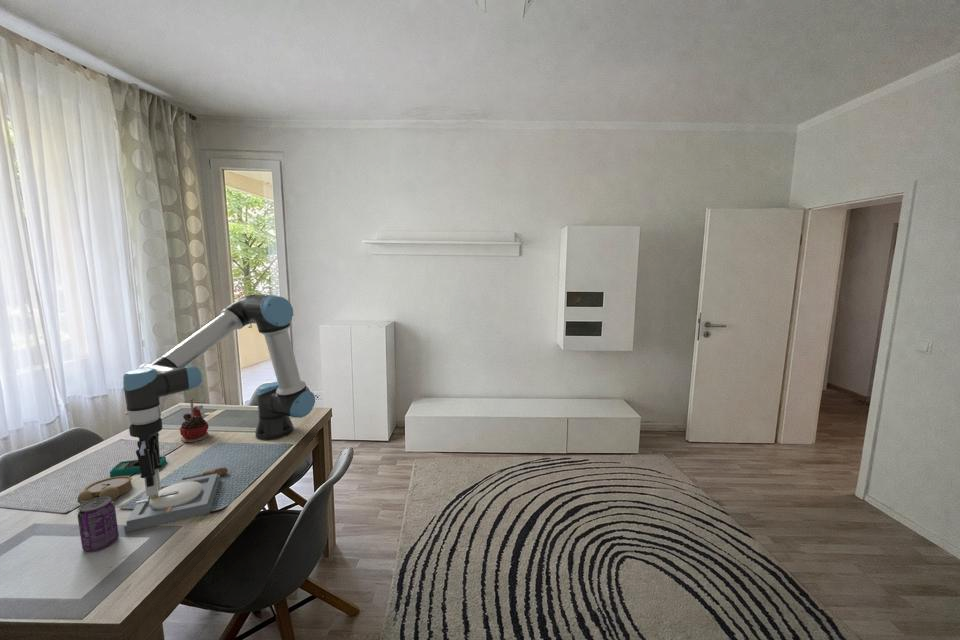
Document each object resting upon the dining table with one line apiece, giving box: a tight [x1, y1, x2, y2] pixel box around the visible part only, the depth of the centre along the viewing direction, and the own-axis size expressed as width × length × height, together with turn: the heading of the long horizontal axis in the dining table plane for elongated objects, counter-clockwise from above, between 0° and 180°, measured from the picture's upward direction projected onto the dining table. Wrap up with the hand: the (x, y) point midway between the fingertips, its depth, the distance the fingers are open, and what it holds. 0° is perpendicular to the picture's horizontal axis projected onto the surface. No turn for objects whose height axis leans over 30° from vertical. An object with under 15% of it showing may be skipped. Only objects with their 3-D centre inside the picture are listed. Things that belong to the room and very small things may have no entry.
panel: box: [123, 473, 221, 533], centre depth 122 cm, size 20×20×3 cm
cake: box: [179, 398, 209, 443], centre depth 165 cm, size 11×9×18 cm
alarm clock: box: [77, 475, 133, 506], centre depth 125 cm, size 11×5×15 cm
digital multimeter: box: [109, 456, 167, 478], centre depth 142 cm, size 7×15×3 cm, turn 110°
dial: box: [150, 470, 202, 510], centre depth 121 cm, size 13×13×10 cm
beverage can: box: [77, 497, 120, 552], centre depth 103 cm, size 7×7×12 cm
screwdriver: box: [181, 466, 228, 480], centre depth 136 cm, size 13×3×3 cm, turn 116°
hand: (153, 492), depth 119 cm, fingers closed on dial, 2 cm apart
